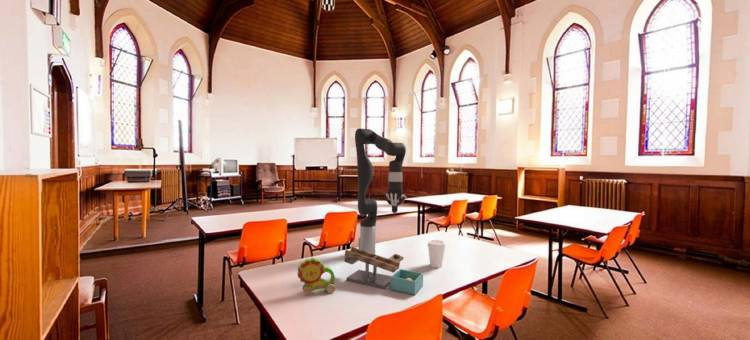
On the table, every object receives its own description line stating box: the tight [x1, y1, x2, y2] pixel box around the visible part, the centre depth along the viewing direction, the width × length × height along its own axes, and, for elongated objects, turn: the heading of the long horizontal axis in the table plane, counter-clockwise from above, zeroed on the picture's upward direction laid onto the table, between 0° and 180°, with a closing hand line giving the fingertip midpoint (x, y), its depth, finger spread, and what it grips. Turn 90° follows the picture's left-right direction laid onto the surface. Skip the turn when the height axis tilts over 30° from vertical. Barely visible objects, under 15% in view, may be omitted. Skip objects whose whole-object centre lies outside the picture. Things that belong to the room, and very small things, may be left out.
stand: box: [345, 262, 393, 290], centre depth 154 cm, size 20×12×10 cm, turn 64°
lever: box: [344, 246, 404, 274], centre depth 159 cm, size 26×18×6 cm
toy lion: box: [297, 257, 336, 296], centre depth 139 cm, size 16×5×15 cm, turn 105°
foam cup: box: [427, 239, 446, 269], centre depth 175 cm, size 10×9×13 cm
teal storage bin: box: [390, 268, 424, 296], centre depth 146 cm, size 11×11×6 cm
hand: (394, 212), depth 172 cm, fingers closed
